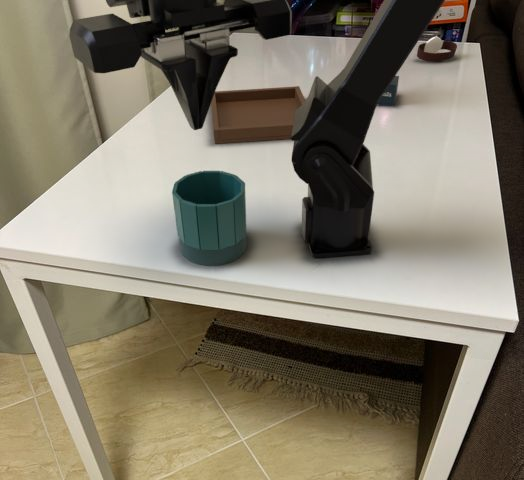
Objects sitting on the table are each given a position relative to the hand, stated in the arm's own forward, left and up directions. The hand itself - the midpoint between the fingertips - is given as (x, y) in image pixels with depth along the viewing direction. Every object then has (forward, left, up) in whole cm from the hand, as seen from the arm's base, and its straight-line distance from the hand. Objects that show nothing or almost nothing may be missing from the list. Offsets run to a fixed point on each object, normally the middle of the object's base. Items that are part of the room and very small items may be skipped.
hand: (196, 128), depth 53 cm
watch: (-29, -37, -12) cm, 49 cm away
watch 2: (-45, -56, -12) cm, 73 cm away
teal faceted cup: (+1, -1, -8) cm, 8 cm away
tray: (-9, -32, -12) cm, 35 cm away
